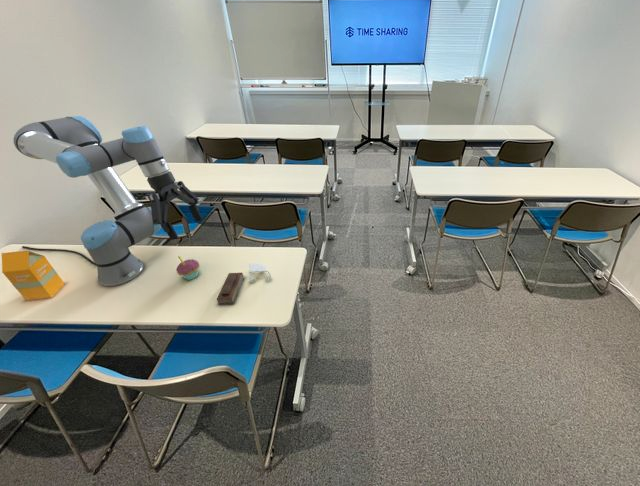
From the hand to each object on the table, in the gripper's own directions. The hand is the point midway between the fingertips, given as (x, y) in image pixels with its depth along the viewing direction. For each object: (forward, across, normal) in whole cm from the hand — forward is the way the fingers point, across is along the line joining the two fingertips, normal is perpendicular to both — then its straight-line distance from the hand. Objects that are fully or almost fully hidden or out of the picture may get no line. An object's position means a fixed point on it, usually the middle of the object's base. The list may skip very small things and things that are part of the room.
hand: (187, 229), depth 106 cm
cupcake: (+23, +4, +14) cm, 27 cm away
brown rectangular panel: (+28, -2, -7) cm, 29 cm away
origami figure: (+29, +7, -14) cm, 33 cm away
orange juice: (+12, -12, +65) cm, 67 cm away
